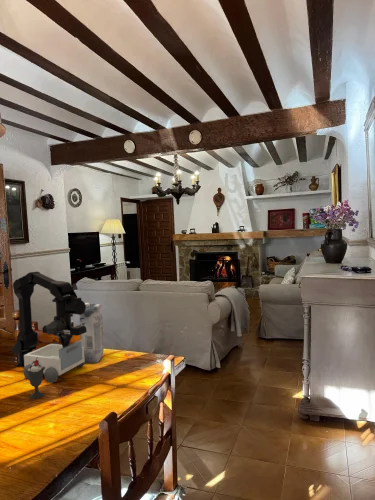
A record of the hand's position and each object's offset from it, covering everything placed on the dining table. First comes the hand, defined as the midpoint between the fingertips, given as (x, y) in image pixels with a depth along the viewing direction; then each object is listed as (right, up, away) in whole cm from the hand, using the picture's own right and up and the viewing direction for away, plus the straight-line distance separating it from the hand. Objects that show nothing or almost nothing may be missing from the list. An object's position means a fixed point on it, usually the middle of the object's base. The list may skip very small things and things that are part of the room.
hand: (65, 349), depth 151 cm
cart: (-5, -11, +3) cm, 12 cm away
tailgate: (+3, -6, -1) cm, 7 cm away
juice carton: (+7, -10, +17) cm, 21 cm away
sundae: (-4, -12, -19) cm, 23 cm away
